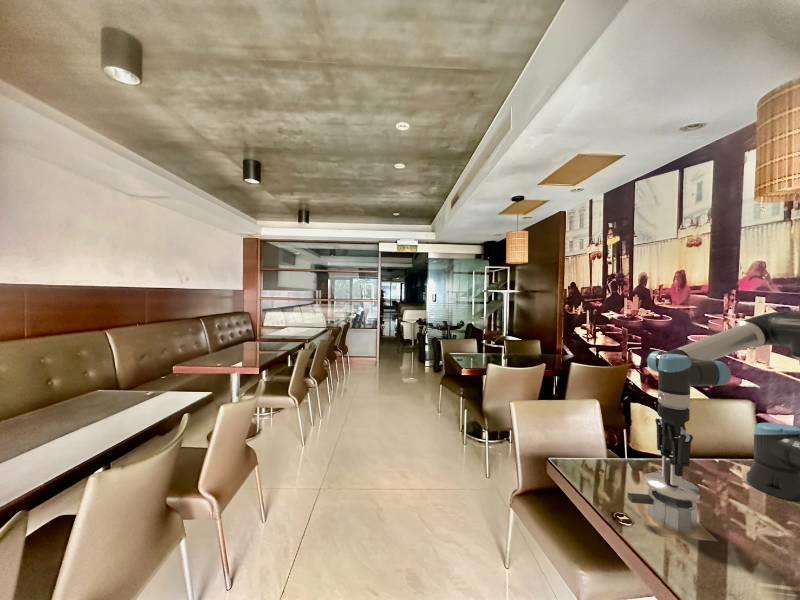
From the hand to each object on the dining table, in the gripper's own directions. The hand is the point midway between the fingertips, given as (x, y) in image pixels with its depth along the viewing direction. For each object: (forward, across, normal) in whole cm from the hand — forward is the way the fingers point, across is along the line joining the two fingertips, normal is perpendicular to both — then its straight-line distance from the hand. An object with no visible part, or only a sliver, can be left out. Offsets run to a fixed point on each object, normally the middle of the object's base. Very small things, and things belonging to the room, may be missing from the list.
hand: (671, 480), depth 101 cm
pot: (+12, 0, -3) cm, 13 cm away
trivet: (+13, 0, 0) cm, 13 cm away
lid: (+2, 0, 0) cm, 2 cm away
